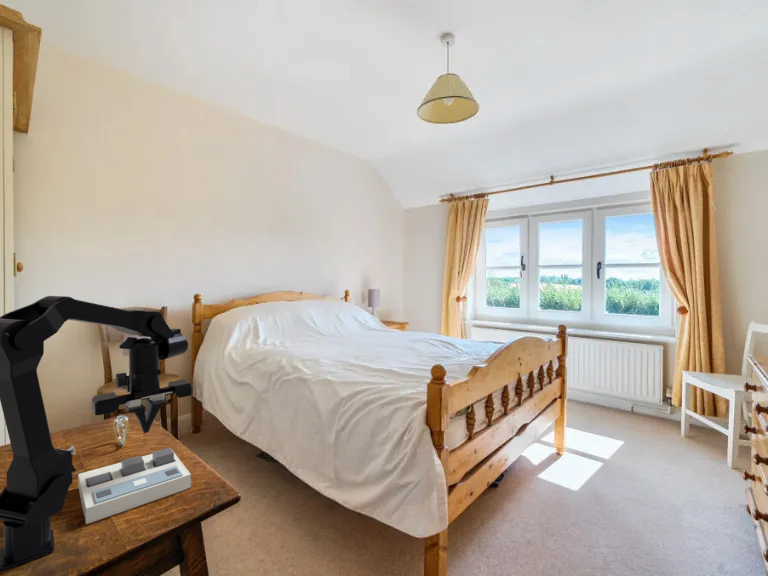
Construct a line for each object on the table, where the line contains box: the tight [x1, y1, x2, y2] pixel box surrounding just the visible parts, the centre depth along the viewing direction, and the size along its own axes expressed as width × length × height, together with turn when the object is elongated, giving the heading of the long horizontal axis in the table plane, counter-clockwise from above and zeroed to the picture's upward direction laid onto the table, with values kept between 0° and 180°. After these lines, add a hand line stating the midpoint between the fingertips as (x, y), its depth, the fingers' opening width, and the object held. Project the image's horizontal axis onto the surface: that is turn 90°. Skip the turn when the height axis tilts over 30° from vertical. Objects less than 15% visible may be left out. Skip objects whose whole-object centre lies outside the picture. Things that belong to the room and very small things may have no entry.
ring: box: [112, 414, 130, 446], centre depth 100 cm, size 7×3×8 cm, turn 48°
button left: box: [87, 473, 111, 488], centre depth 78 cm, size 4×4×3 cm
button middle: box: [121, 454, 144, 477], centre depth 82 cm, size 4×4×3 cm
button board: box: [77, 448, 192, 525], centre depth 81 cm, size 16×18×3 cm
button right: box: [152, 447, 175, 467], centre depth 86 cm, size 4×4×3 cm
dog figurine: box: [61, 444, 76, 456], centre depth 92 cm, size 3×6×4 cm
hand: (145, 432), depth 84 cm, fingers closed
